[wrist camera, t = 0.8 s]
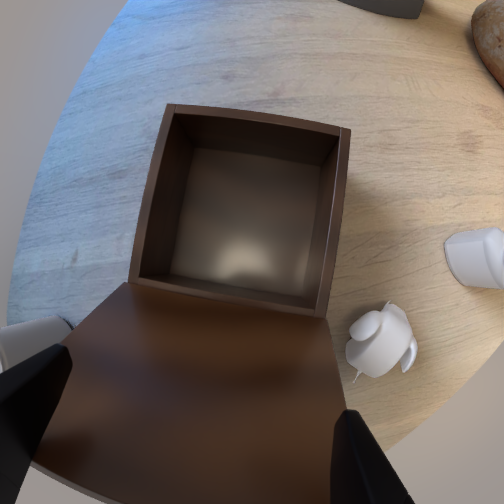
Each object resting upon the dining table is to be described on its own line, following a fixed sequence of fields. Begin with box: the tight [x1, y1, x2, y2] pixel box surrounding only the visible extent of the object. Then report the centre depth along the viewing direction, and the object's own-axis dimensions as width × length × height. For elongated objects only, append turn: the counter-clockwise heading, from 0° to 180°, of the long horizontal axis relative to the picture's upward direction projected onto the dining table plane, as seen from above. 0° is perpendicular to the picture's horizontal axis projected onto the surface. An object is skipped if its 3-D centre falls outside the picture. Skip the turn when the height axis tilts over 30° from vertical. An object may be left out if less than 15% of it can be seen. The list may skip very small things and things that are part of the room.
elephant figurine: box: [345, 300, 418, 384], centre depth 25 cm, size 7×8×6 cm
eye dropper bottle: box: [444, 227, 504, 289], centre depth 22 cm, size 4×6×12 cm
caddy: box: [128, 104, 351, 319], centre depth 25 cm, size 14×14×8 cm
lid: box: [30, 282, 347, 504], centre depth 13 cm, size 14×14×1 cm
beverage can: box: [0, 316, 72, 373], centre depth 23 cm, size 5×5×12 cm
